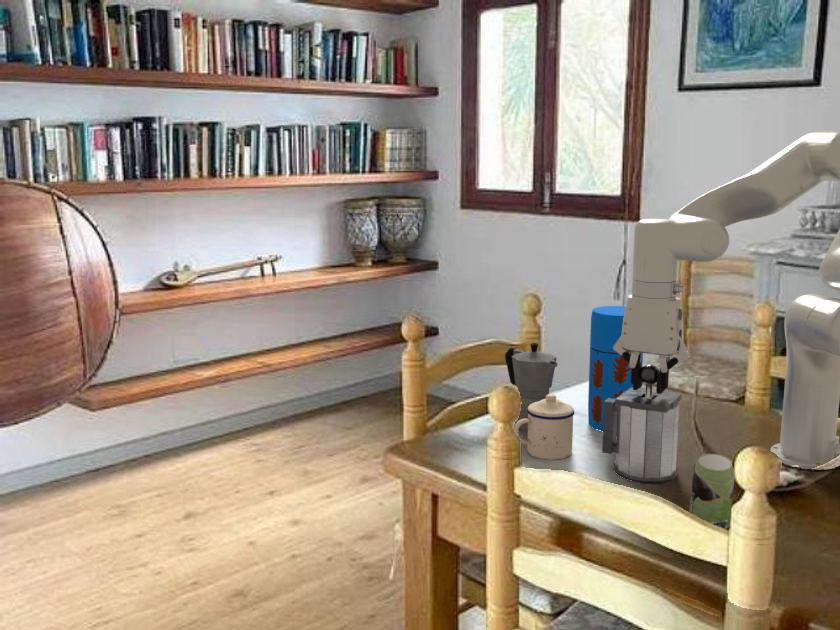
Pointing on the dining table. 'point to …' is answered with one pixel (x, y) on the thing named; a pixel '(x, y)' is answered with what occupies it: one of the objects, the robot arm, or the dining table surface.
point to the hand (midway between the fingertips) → (649, 389)
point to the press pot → (642, 435)
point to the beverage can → (712, 489)
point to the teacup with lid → (549, 428)
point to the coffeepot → (530, 376)
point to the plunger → (649, 378)
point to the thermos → (606, 362)
